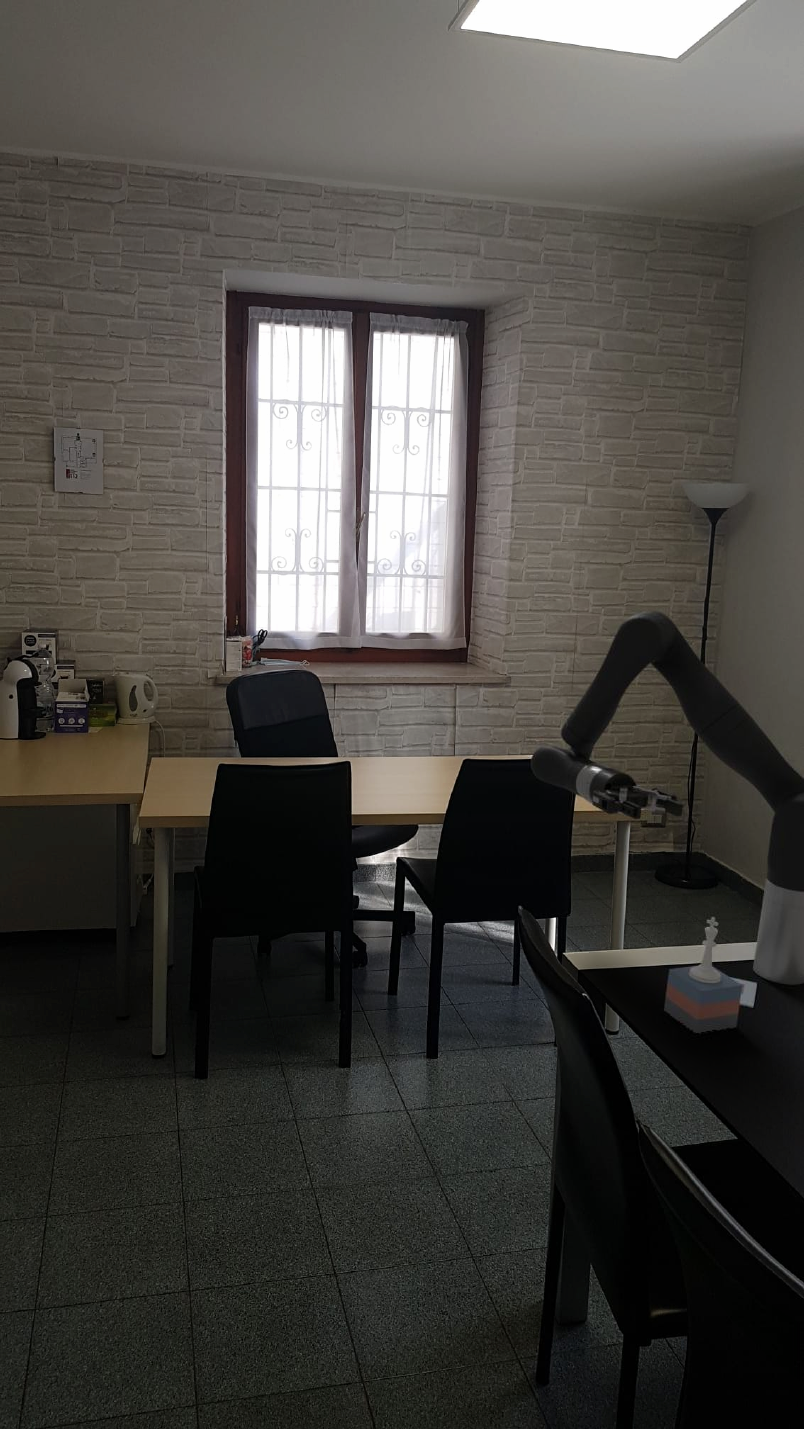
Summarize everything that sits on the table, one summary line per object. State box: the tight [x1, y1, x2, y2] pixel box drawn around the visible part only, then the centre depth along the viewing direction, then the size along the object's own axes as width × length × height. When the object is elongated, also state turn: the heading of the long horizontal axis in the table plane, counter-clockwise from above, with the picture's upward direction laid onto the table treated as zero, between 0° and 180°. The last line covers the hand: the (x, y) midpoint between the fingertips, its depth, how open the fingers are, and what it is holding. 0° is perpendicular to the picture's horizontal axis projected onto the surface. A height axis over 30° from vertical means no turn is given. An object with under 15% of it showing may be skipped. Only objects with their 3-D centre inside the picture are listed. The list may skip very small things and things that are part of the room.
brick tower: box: [663, 965, 742, 1034], centre depth 171 cm, size 8×8×7 cm
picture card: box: [729, 976, 758, 1009], centre depth 183 cm, size 10×7×1 cm
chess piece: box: [689, 916, 721, 984], centre depth 169 cm, size 5×5×10 cm
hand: (660, 812), depth 180 cm, fingers open, 8 cm apart
